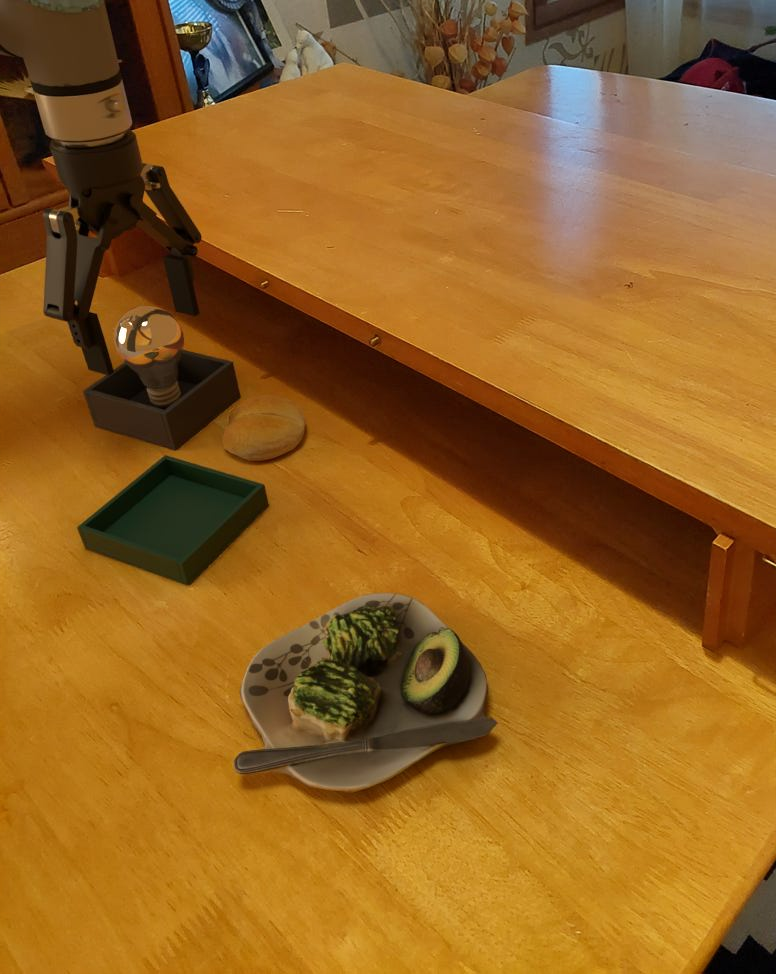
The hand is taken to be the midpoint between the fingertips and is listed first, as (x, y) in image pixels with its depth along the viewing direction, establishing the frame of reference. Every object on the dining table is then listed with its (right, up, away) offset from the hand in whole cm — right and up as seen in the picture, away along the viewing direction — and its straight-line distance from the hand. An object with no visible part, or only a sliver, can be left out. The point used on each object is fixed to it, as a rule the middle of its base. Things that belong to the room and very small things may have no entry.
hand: (146, 340), depth 97 cm
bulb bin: (+1, -7, +5) cm, 9 cm away
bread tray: (+7, -19, -10) cm, 23 cm away
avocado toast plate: (+27, -31, -26) cm, 49 cm away
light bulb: (+1, -7, +5) cm, 8 cm away
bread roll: (+12, -10, +1) cm, 16 cm away
